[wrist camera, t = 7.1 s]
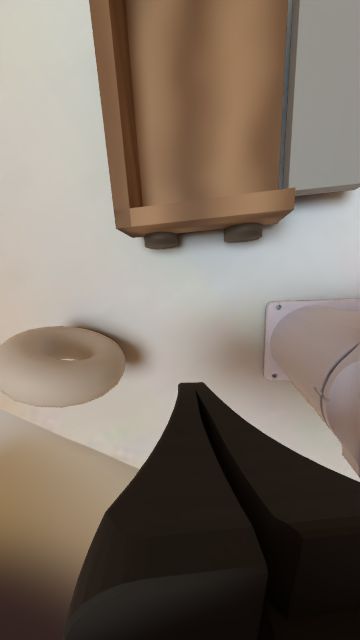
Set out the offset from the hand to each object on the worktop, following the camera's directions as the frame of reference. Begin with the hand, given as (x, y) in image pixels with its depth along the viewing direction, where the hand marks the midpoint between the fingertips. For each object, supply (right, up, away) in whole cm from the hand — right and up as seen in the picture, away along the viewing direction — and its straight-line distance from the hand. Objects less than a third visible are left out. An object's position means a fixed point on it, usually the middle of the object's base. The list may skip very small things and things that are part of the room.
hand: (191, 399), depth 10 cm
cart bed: (+1, +21, +6) cm, 21 cm away
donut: (-10, +2, +12) cm, 15 cm away
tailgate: (+7, +20, +3) cm, 21 cm away
